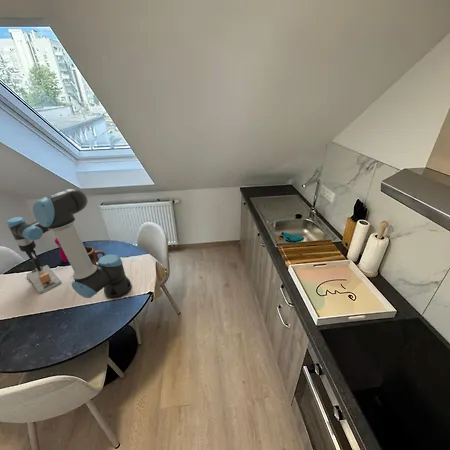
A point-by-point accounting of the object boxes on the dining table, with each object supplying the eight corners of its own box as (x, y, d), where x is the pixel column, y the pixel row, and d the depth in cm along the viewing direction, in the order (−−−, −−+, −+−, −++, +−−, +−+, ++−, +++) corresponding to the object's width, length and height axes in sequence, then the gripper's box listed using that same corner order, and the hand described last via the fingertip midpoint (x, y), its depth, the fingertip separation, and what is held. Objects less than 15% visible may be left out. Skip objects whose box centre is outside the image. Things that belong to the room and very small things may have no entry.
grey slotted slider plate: (61, 283, 154) (60, 280, 153) (39, 294, 147) (38, 290, 145) (48, 267, 168) (46, 264, 167) (27, 276, 160) (25, 273, 159)
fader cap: (51, 279, 154) (48, 273, 152) (42, 284, 151) (39, 277, 148) (49, 278, 155) (47, 271, 153) (40, 282, 152) (37, 276, 150)
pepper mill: (68, 263, 172) (58, 238, 162) (59, 261, 173) (49, 237, 163) (76, 256, 178) (66, 233, 168) (67, 255, 179) (57, 232, 169)
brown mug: (107, 258, 176) (102, 242, 169) (108, 268, 166) (102, 251, 159) (75, 266, 169) (69, 249, 162) (74, 277, 159) (67, 259, 152)
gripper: (37, 243, 143) (51, 275, 155) (30, 236, 150) (44, 266, 162) (21, 249, 138) (37, 282, 150) (15, 241, 145) (31, 272, 157)
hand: (41, 274), depth 156 cm, fingers closed
